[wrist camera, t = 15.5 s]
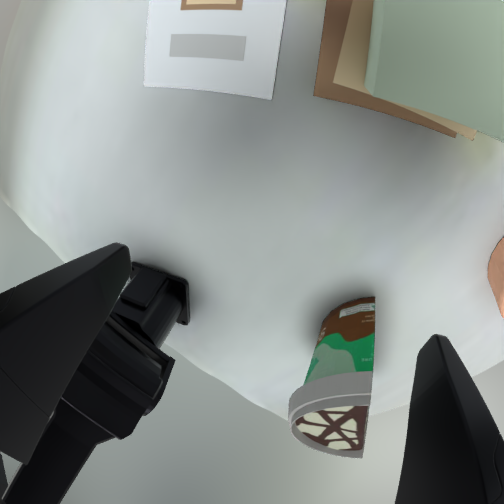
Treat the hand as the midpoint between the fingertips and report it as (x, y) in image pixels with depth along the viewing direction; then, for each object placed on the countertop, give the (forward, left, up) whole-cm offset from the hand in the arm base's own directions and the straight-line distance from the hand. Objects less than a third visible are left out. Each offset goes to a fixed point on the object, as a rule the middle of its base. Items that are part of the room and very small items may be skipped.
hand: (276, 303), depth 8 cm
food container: (-15, -6, -13) cm, 21 cm away
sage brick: (+8, -3, -7) cm, 11 cm away
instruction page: (+9, +8, -13) cm, 17 cm away
